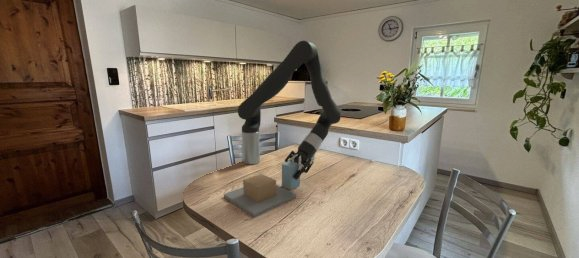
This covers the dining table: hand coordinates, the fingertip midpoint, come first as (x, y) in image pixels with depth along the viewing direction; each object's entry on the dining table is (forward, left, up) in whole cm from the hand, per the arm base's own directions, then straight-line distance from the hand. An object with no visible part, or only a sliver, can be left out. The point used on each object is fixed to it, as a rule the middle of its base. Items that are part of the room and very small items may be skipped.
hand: (288, 175), depth 108 cm
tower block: (0, +1, -5) cm, 5 cm away
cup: (-19, +35, -5) cm, 40 cm away
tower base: (-1, -15, -5) cm, 16 cm away
